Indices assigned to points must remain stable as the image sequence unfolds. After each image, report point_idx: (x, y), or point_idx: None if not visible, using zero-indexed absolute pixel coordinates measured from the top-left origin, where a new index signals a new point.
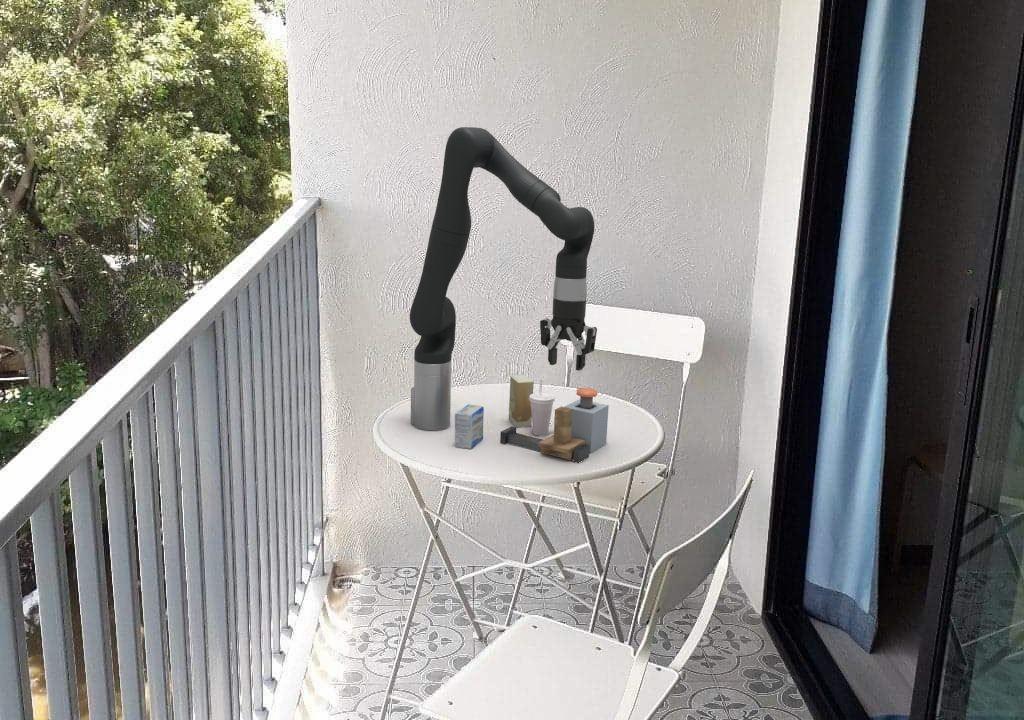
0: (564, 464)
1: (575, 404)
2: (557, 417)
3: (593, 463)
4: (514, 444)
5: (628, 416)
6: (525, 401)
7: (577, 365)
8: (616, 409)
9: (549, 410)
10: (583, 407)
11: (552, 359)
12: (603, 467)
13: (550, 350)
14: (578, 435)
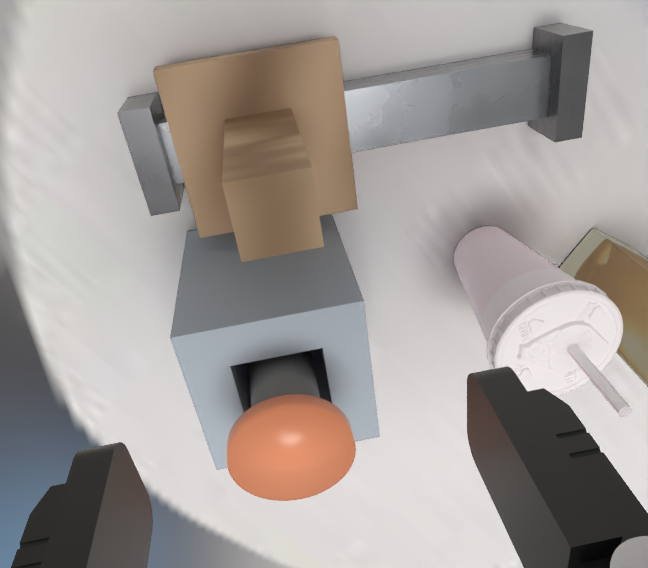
0: (160, 32)
1: (342, 371)
2: (283, 153)
3: (86, 149)
4: (494, 55)
5: (345, 544)
6: (632, 314)
7: (80, 495)
8: (408, 554)
9: (482, 314)
10: (276, 366)
11: (499, 425)
12: (18, 144)
13: (606, 526)
14: None
